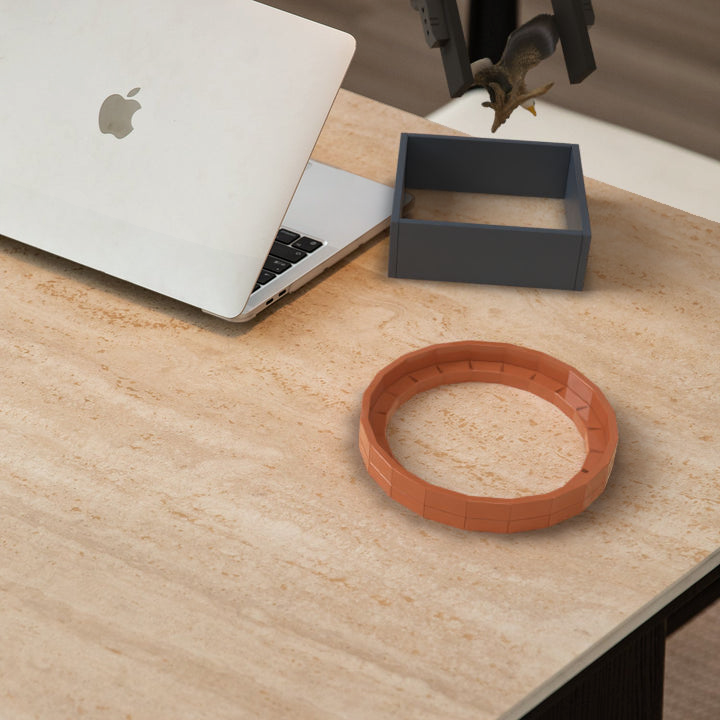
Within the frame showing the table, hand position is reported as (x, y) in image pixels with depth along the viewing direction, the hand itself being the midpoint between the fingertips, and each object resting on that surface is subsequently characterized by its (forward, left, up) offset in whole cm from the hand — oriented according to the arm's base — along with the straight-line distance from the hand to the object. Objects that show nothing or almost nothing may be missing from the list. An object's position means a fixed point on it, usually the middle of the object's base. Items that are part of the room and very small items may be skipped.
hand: (523, 83), depth 84 cm
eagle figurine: (+1, -3, -4) cm, 5 cm away
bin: (+1, -4, -15) cm, 16 cm away
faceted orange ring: (+1, +21, -15) cm, 26 cm away
